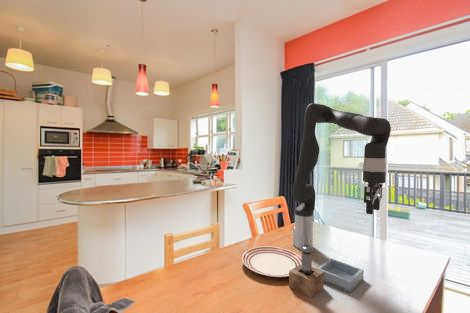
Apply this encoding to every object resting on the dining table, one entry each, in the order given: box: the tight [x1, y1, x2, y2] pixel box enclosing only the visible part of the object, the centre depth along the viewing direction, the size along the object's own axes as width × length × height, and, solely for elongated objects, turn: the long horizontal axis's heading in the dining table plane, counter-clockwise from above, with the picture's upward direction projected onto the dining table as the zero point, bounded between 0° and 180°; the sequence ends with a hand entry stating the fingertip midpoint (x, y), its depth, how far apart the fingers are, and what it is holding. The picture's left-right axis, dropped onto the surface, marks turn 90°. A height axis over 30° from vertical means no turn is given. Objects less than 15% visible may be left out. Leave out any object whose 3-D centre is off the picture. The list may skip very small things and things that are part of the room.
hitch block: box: [288, 264, 325, 299], centre depth 86 cm, size 9×9×6 cm
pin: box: [299, 245, 315, 276], centre depth 86 cm, size 5×5×15 cm
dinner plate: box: [241, 245, 302, 278], centre depth 103 cm, size 28×27×3 cm
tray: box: [316, 258, 364, 294], centre depth 92 cm, size 13×13×4 cm
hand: (372, 211), depth 89 cm, fingers open, 8 cm apart
